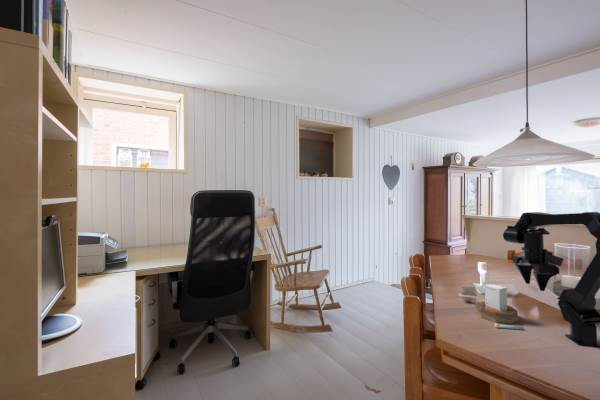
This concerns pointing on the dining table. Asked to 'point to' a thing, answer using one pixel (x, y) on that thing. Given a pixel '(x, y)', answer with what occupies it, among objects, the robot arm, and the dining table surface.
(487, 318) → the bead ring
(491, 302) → the skincare box
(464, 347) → the dining table surface
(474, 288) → the architectural model
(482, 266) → the figurine
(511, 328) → the teal thin rod
